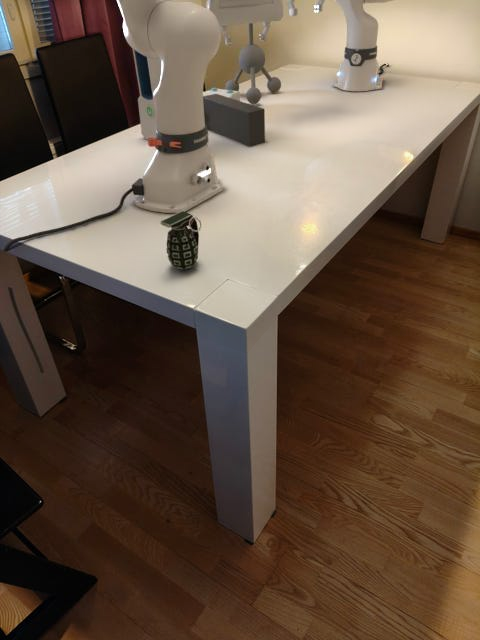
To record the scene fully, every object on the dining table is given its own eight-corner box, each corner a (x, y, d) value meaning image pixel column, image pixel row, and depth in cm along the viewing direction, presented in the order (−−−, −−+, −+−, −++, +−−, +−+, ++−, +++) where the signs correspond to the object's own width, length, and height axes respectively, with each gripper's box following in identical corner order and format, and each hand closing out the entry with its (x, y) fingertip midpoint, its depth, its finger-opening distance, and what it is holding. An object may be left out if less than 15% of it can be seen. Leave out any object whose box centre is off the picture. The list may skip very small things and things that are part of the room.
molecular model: (299, 96, 185) (301, 2, 166) (252, 107, 175) (249, 9, 157) (262, 86, 200) (261, -1, 182) (217, 96, 191) (211, 5, 173)
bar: (265, 142, 145) (264, 108, 140) (249, 146, 143) (248, 112, 137) (218, 124, 162) (216, 93, 156) (203, 127, 160) (201, 96, 154)
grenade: (182, 278, 88) (175, 228, 82) (162, 268, 91) (153, 219, 85) (208, 263, 92) (203, 214, 85) (187, 253, 95) (181, 205, 89)
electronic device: (141, 137, 154) (123, 28, 136) (159, 131, 158) (144, 24, 140) (166, 145, 147) (151, 30, 129) (185, 138, 151) (172, 26, 133)
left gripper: (279, -23, 127) (279, 38, 135) (202, -17, 123) (207, 44, 132) (287, -22, 122) (286, 41, 130) (206, -16, 119) (211, 48, 127)
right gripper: (328, -48, 140) (325, 9, 148) (271, -43, 131) (271, 17, 139) (343, -48, 135) (340, 10, 144) (286, -44, 127) (285, 18, 135)
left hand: (245, 43), depth 131 cm, fingers open, 8 cm apart
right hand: (306, 14), depth 142 cm, fingers open, 8 cm apart
